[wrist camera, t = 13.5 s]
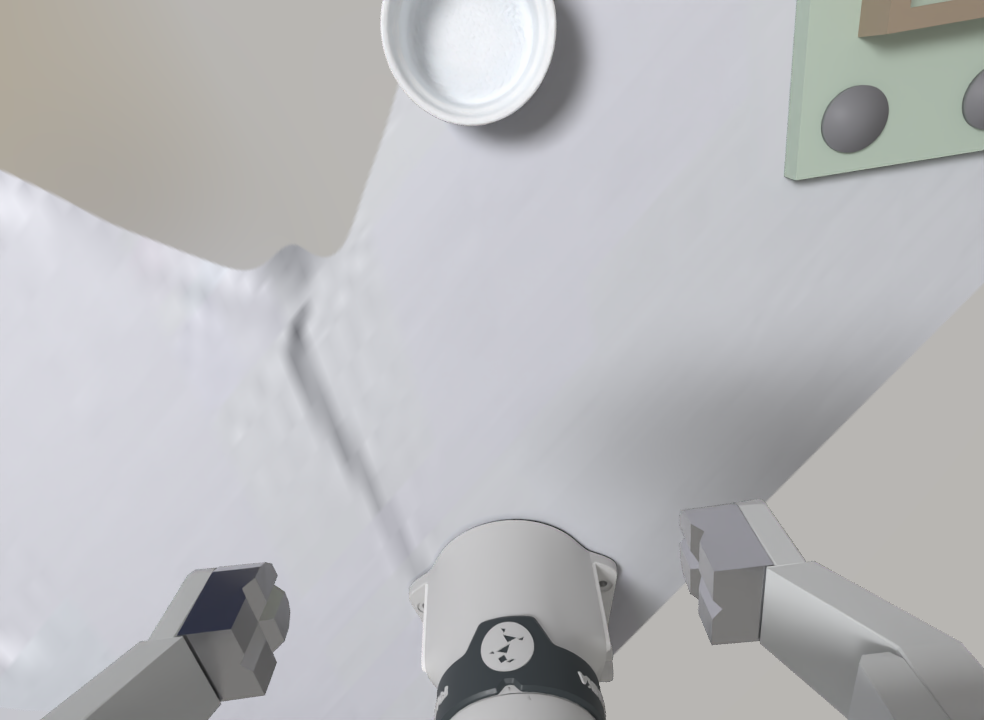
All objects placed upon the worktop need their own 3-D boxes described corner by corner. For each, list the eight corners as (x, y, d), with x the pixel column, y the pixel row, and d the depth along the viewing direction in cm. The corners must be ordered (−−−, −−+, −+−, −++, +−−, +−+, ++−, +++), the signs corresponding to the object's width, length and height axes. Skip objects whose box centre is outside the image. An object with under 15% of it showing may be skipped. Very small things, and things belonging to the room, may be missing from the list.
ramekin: (362, 50, 32) (346, 46, 28) (454, -101, 29) (450, -129, 26) (483, 152, 35) (483, 161, 31) (580, 22, 32) (593, 14, 28)
